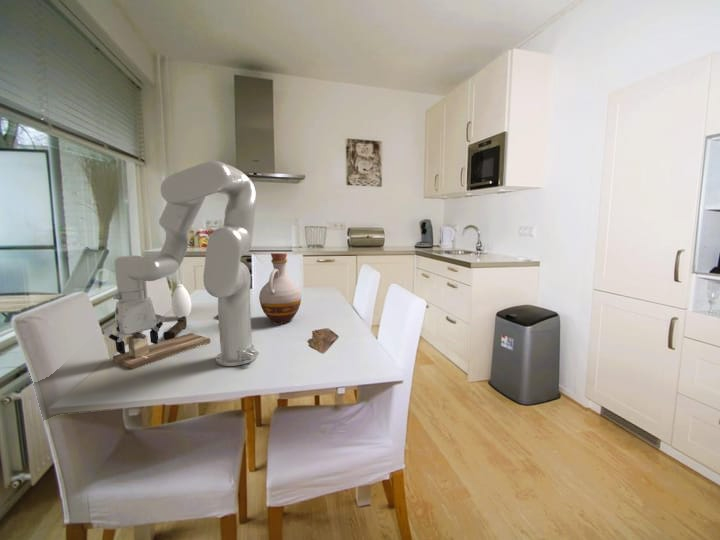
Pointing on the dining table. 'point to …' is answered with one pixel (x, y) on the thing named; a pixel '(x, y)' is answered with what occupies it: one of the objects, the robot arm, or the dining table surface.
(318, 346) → the wooden fragment
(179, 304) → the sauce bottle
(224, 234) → the robot arm
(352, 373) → the dining table surface
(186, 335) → the board
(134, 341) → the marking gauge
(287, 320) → the jug
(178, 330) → the hand tool
